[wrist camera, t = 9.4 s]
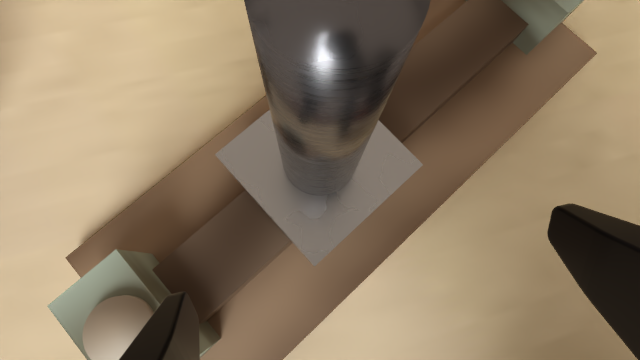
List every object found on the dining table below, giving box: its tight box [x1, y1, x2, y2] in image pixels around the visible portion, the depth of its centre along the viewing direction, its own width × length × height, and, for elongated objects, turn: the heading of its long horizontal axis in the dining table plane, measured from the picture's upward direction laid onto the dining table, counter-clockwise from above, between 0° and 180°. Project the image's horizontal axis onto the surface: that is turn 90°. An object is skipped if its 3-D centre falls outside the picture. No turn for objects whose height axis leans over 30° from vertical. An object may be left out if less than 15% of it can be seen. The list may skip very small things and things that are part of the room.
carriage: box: [215, 0, 430, 267], centre depth 12 cm, size 6×6×11 cm
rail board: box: [48, 0, 597, 360], centre depth 18 cm, size 10×27×5 cm, turn 133°
